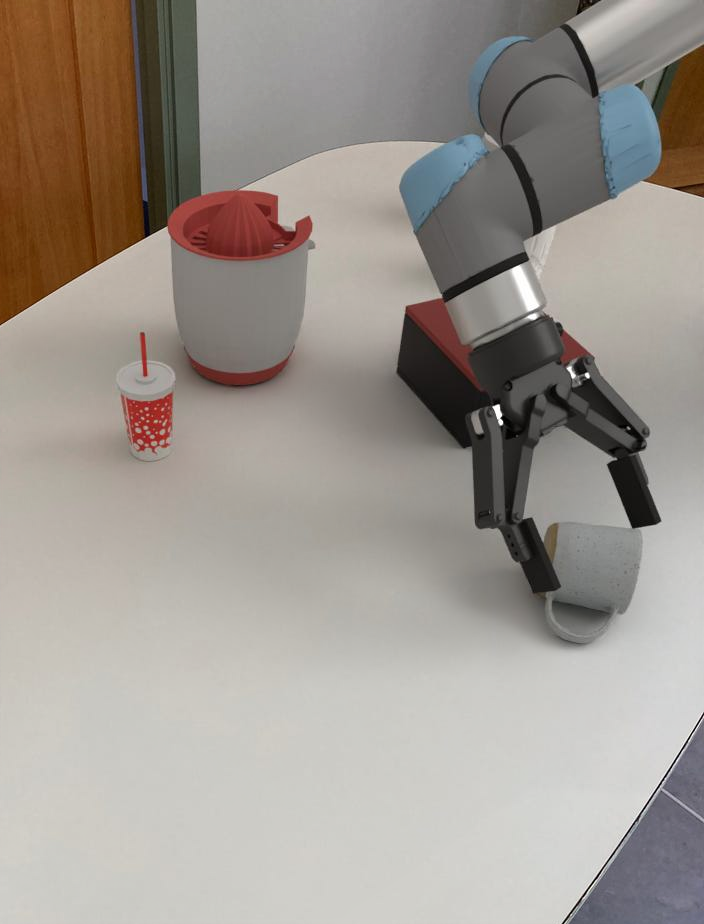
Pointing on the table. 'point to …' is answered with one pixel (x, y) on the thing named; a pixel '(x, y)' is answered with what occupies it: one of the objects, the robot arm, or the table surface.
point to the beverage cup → (147, 406)
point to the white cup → (539, 249)
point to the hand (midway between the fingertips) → (598, 557)
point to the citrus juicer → (238, 284)
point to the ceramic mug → (592, 570)
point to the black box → (438, 382)
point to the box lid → (444, 335)
